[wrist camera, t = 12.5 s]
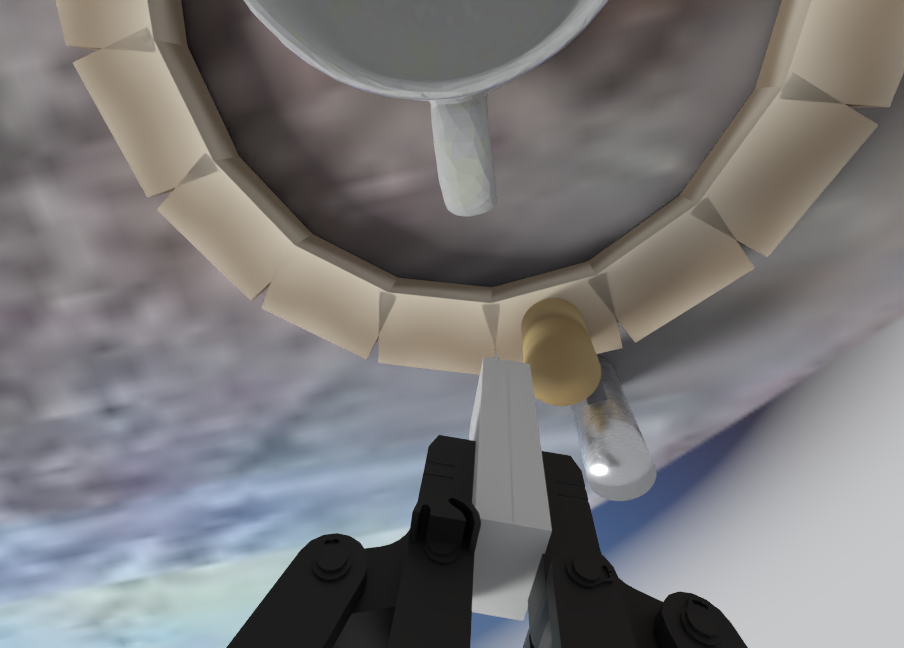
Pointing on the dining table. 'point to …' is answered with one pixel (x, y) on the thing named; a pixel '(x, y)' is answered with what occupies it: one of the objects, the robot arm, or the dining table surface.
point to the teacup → (433, 63)
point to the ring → (523, 301)
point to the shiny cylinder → (612, 441)
